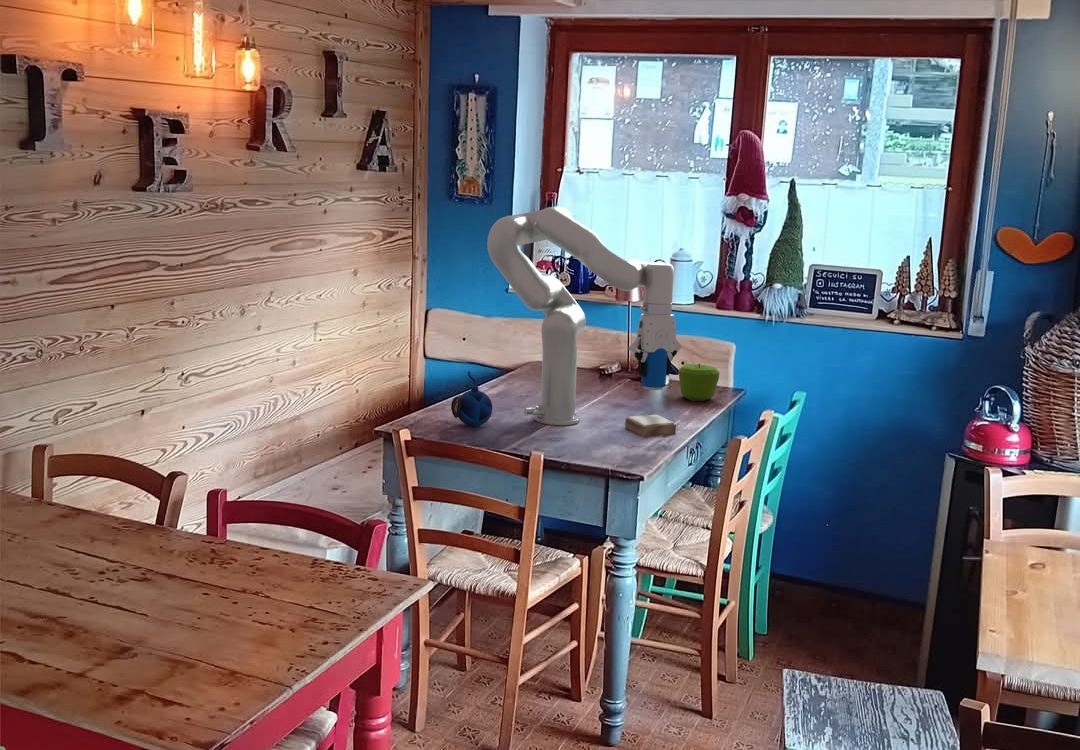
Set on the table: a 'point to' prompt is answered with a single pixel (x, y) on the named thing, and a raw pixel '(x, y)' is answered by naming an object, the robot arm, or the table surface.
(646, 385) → the beverage can
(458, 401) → the bomb
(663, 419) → the pedestal
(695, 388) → the apple
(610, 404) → the table surface
